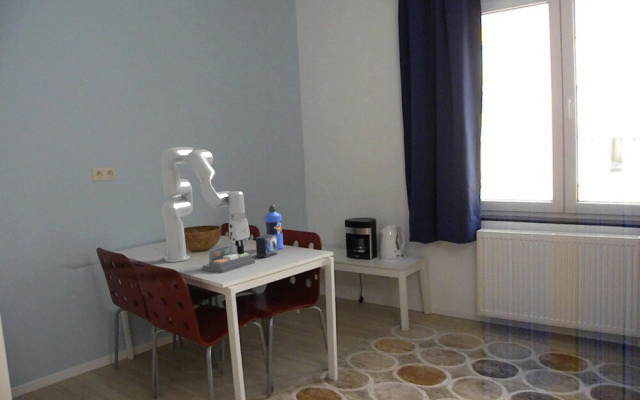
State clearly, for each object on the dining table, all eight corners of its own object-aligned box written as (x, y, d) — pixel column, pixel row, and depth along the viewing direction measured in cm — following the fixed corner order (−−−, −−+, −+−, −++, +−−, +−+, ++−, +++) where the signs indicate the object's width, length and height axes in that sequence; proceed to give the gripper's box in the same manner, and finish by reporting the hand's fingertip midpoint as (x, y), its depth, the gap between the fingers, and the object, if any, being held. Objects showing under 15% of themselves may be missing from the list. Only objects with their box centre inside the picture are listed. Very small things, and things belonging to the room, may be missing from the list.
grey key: (223, 260, 242) (222, 256, 242) (231, 257, 246) (230, 253, 246) (230, 261, 239) (230, 256, 239) (238, 258, 243) (238, 254, 243)
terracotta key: (212, 265, 237) (212, 261, 237) (221, 262, 241) (220, 258, 241) (220, 266, 234) (220, 262, 234) (228, 263, 238) (228, 259, 238)
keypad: (202, 269, 240) (201, 251, 239) (235, 260, 256) (233, 243, 256) (222, 272, 231) (221, 253, 231) (254, 262, 248) (253, 244, 247)
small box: (266, 258, 257) (264, 238, 256) (256, 257, 260) (254, 237, 259) (278, 254, 266) (277, 234, 265) (268, 253, 269) (267, 234, 268)
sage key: (233, 258, 247) (232, 254, 247) (240, 256, 251) (240, 252, 251) (240, 259, 244) (240, 255, 244) (248, 256, 248) (247, 252, 248)
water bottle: (287, 247, 281) (283, 203, 279) (276, 251, 273) (273, 205, 271) (273, 246, 286) (270, 203, 284) (263, 250, 278) (260, 205, 276)
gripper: (231, 219, 238) (234, 257, 239) (253, 214, 249) (256, 251, 251) (220, 218, 242) (224, 256, 244) (243, 214, 254) (246, 250, 256)
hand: (240, 253), depth 248 cm, fingers closed
